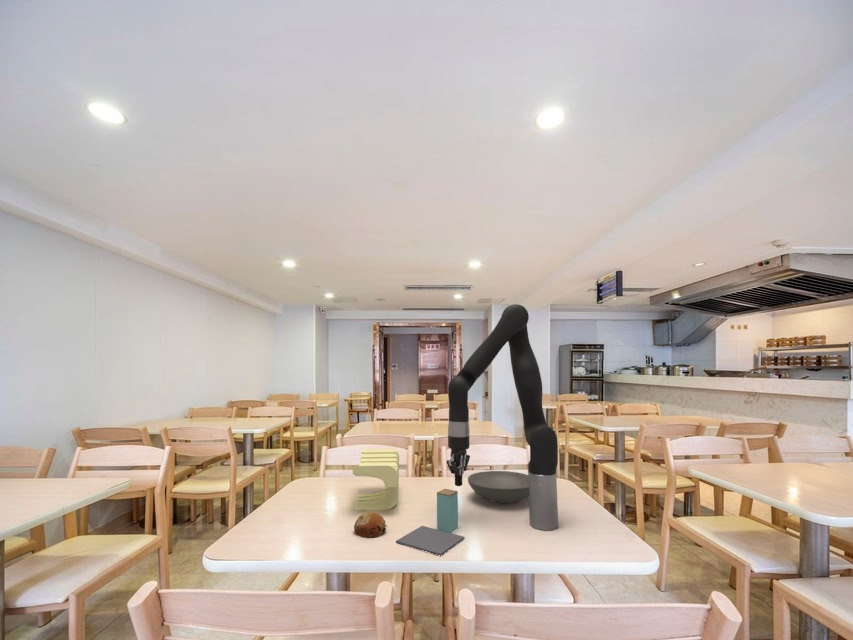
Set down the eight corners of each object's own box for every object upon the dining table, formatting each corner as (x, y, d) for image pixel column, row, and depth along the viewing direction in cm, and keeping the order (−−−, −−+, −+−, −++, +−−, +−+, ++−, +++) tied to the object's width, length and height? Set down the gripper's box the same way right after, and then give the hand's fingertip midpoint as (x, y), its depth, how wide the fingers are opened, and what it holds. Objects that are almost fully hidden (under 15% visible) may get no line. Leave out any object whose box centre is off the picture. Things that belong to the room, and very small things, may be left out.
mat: (422, 527, 135) (422, 525, 135) (464, 538, 126) (464, 536, 127) (396, 542, 124) (396, 540, 124) (440, 556, 115) (440, 554, 115)
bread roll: (375, 536, 138) (368, 511, 141) (395, 529, 132) (387, 503, 135) (352, 546, 130) (345, 520, 133) (372, 539, 125) (365, 512, 128)
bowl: (547, 512, 149) (547, 488, 150) (471, 512, 150) (470, 488, 151) (530, 489, 176) (529, 469, 177) (465, 489, 177) (465, 469, 178)
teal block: (445, 525, 137) (444, 488, 138) (458, 529, 134) (457, 491, 135) (437, 530, 133) (436, 492, 134) (450, 534, 130) (449, 495, 131)
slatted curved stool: (397, 517, 145) (397, 465, 147) (352, 518, 144) (352, 466, 146) (399, 491, 174) (399, 448, 176) (361, 492, 174) (362, 449, 176)
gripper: (458, 438, 136) (458, 492, 134) (476, 432, 147) (477, 482, 145) (439, 435, 140) (439, 488, 138) (458, 430, 151) (458, 479, 149)
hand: (458, 485), depth 141 cm, fingers closed
